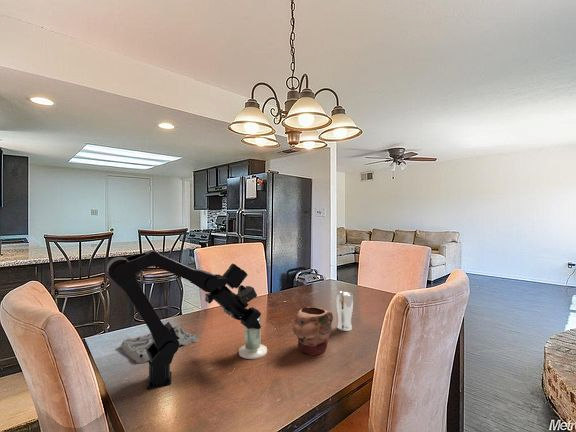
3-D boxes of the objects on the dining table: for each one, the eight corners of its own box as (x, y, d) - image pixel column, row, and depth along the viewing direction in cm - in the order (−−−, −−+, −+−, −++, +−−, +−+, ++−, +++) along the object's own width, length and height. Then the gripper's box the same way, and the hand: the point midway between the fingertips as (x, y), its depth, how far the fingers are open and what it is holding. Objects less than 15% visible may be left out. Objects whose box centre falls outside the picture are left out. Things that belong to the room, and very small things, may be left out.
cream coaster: (270, 355, 99) (270, 353, 99) (242, 361, 95) (242, 359, 95) (262, 343, 108) (262, 341, 108) (236, 348, 104) (236, 346, 104)
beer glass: (356, 328, 123) (356, 293, 123) (347, 333, 118) (347, 296, 118) (342, 323, 128) (342, 290, 128) (333, 328, 123) (333, 293, 122)
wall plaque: (139, 366, 93) (139, 354, 93) (118, 348, 105) (118, 338, 105) (203, 342, 110) (203, 332, 110) (179, 329, 123) (179, 320, 123)
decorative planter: (317, 334, 117) (317, 300, 116) (343, 343, 108) (343, 306, 108) (284, 351, 102) (284, 312, 102) (311, 363, 94) (311, 321, 94)
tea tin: (260, 349, 99) (260, 320, 99) (243, 349, 98) (243, 320, 98) (261, 342, 104) (261, 314, 104) (245, 342, 104) (245, 315, 104)
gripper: (255, 285, 91) (284, 313, 98) (231, 275, 107) (257, 300, 113) (232, 315, 87) (264, 342, 93) (211, 300, 102) (239, 324, 109)
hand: (256, 325), depth 102 cm, fingers closed on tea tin, 5 cm apart
